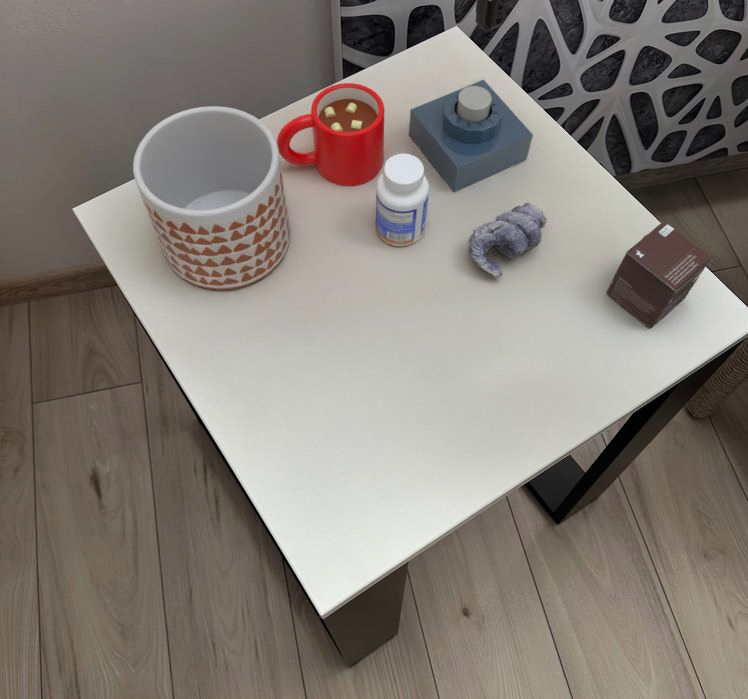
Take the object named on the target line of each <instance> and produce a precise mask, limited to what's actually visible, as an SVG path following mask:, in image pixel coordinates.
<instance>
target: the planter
mask: <svg viewBox="0 0 748 699" xmlns="http://www.w3.org/2000/svg"><path fill="white" fill-rule="evenodd" d="M132 170H133V177H134V181H135V184H136V186H137V188H138V191H139V194H140V196H141V199H142V202H143V204H144V206H145V209H146V212H147V214H148V217H149V218H150V222H151V224H152V227H153V230H154V232H155V235H156V237H157V241H158V242H159V245H160V246H161V250H162V252H163V255H164V257H165V259H166V261H167V263H168V264H169V266H170V268H171V269H172V270H173V271H174V272H175V273H176V274H177V275H178V276H179V277H180V278H182V279H183V280H185V281H186V282H188V283H190V284H192V285H194V286H197V287H201V288H203V289H204V288H205V289H209V290H221V291H223V290H234V289H239V288H243V287H246V286H249V285H252V284H255V283H256V282H258V281H260V280H262V279H264V278H265V277H267V276H268V275H269V274H270V273H272V271H274V270H275V268H277V267H278V265H279V264H280V263H281V261H282V260H283V258H284V257H285V255H286V253H287V251H288V249H289V244H290V241H291V240H290V238H291V229H290V227H291V226H290V219H289V213H288V207H287V206H288V205H287V198H286V192H285V184H284V178H283V170H282V164H281V155H280V154H279V150H278V146H277V139H276V137H275V136H274V134H273V133H272V131H271V130H270V128H269V127H268V126H267V125H266V124H265V123H264V122H262V121H261V120H260V119H259V118H258V117H256V116H254V115H252V114H250V113H248V112H246V111H243V110H240V109H238V108H233V107H227V106H218V105H217V106H216V105H211V106H210V105H209V106H199V107H194V108H189V109H185V110H182V111H179V112H177V113H174V114H171V115H170V116H168V117H166V118H164V119H163V120H161V121H160V122H158V123H156V125H155V126H153V127H152V128H151V129H150V130H149V131H147V133H146V135H144V137H143V138H142V140H141V141H140V142H139V143H138V146H137V148H136V151H135V154H134V156H133V163H132Z"/></svg>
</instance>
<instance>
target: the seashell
mask: <svg viewBox="0 0 748 699" xmlns="http://www.w3.org/2000/svg"><path fill="white" fill-rule="evenodd" d="M547 221H548V218H547V216H546V215H545V214H544V211H543V209H541V208H539V207H537V206H536V205H533V204H531V203H530V202H526V203H524V204H523V205H517V206H515V207H514V208H512V209H511V210H510V211H506V212H503V213H502V214H500V215H497V216H496V218H495V219H494V221H490V222H487V223H485V224H483V225H481V226H478V227H477V228H475V229H473V230H472V231H473V232H472V233H471V234H470V236H469V238H468V254H469V258H470V260H472V261H473V262H474V263H475V264H476V265H477V267H478V268H480V269H482V270H484V271H485V272H487V273H488V274H490V275H491V276H493V277H495V278H496V279H498V278H500V277H501V276H503V273H502V271H501V268H500V265H499V264H500V263H499V262H500V261H492V260H491V259H489V258H488V256H487V255H488V250H489V249H490V247H492V246H494V247H495V249H497V251H498V252H500V253H501V254H502V255H504V256H505V257H508V258H512V259H515V258H517V257H520V256H521V255H522V254H523V253H524V252H525V250H533V249H535V248H536V247H538V245H539V244H540V243H541V241H542V231H541V230H542V229H543V228H545V227H546V224H547Z"/></svg>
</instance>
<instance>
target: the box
mask: <svg viewBox="0 0 748 699" xmlns="http://www.w3.org/2000/svg"><path fill="white" fill-rule="evenodd" d="M711 260H712V256H711V255H710V254H708V252H705V250H703V249H701V247H699V246H697V245H696V244H695V243H693V241H691V240H690V239H688V238H687V237H686V236H684V235H683V234H681V233H680V232H679V231H677V229H675V228H674V227H673V226H671V225H669V224H668V223H667V222H665V221H662V222H660V223H659V224H658V225H657V226H656V227H655V228H653V229H652V230H651V231H650V232H649V233H647V234H645V235H644V236H643V237H641V240H639V241H638V242H637V243H636V244H634V245H633V246H632V247H631V248H630V249H628V250H627V251H626V252H625V254H624V256H623V258H622V260H621V263H620V264H619V266H618V268H617V270H616V272H615V273H614V276H613V279H612V280H611V282H610V285H609V286H608V288H607V290H606V295H607V296H609V297H610V298H611V299H612V300H613V301H615V302H616V303H617V304H619V305H620V306H622V307H623V308H624V309H625V310H626V311H628V312H629V313H630V314H631V315H632V316H634V317H635V318H636V319H638V321H640V322H641V323H642V324H644V325H645V326H646V327H647V328H649V329H652V328H653V327H655V326H656V325H657V324H658V323H660V322H661V320H663V319H664V318H665V317H667V316H668V315H669V313H671V312H672V311H673V310H674V309H675V308H676V307H677V306H678V305H680V303H682V302H683V301H684V300H685V299H686V298H687V296H688V295H689V293H690V291H691V290H692V289H693V287H694V285H695V284H696V282H698V279H699V278H700V276H701V275H702V273H703V272H704V270H705V268H706V267H707V265H708V263H709V262H710V261H711Z"/></svg>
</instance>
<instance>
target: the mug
mask: <svg viewBox="0 0 748 699" xmlns="http://www.w3.org/2000/svg"><path fill="white" fill-rule="evenodd" d="M309 128H310V129H311V128H312V138H313V151H310V152H300V151H296V150H294V149H293V148H292V147H291V142H292V139H293V138H294V136H295V135H296V134H298V133H299V132H301V131H303V130H305V129H309ZM276 142H277V146H278V150H279V156H280V157H281V158H282V159H283V160H284V161H285V162H287V163H289V164H291V165H294V166H300V167H301V166H303V167H304V166H313V165H315V167H316V169H317V171H318V173H319V174H320V175H321V177H323V178H324V179H325V180H326V181H328V182H330V183H332V184H335V185H338V186H342V187H343V186H344V187H353V186H354V187H355V186H360V185H364V184H366V183H368V182H370V181H372V180H374V178H376V177H377V176H378V174H379V173H380V172H381V170H382V168H383V166H384V149H385V148H384V147H385V146H384V144H385V105H384V102H383V99H382V98H381V96H380V95H379V94H378V93H377V92H376V91H374V90H373V89H372V88H370V87H368V86H366V85H362V84H359V83H353V82H343V83H337V84H333V85H330V86H327V87H326V88H324V89H323V90H321V91H320V92H319V93H318V94H317V95H316V97H314V99H313V101H312V103H311V108H310V113H307V114H303V115H299V116H296V117H294V118H293V119H291V120H290V121H288V122H287V123H285V125H284V126H283V127H282V128H281V129H280V131H279V133H278V135H277V138H276Z"/></svg>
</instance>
